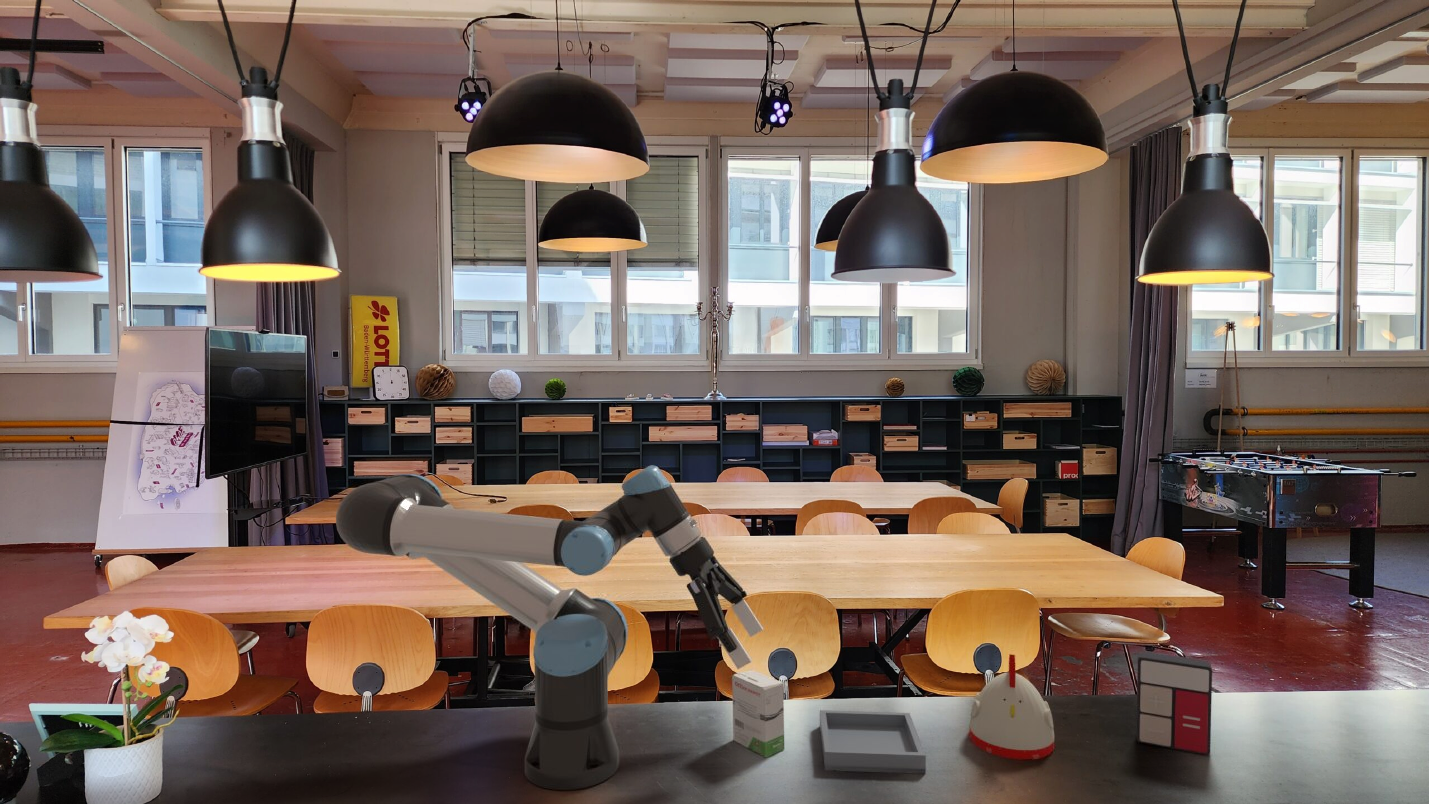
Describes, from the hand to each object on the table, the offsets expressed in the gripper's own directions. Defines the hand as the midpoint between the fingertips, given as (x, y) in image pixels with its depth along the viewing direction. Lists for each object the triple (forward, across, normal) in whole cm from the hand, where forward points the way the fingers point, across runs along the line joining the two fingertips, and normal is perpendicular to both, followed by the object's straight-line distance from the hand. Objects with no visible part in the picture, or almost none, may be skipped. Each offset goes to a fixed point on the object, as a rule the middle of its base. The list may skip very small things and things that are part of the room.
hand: (751, 648), depth 142 cm
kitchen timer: (+38, +6, -28) cm, 48 cm away
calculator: (+53, +9, -51) cm, 74 cm away
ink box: (+14, -4, +7) cm, 16 cm away
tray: (+24, -2, -9) cm, 26 cm away
